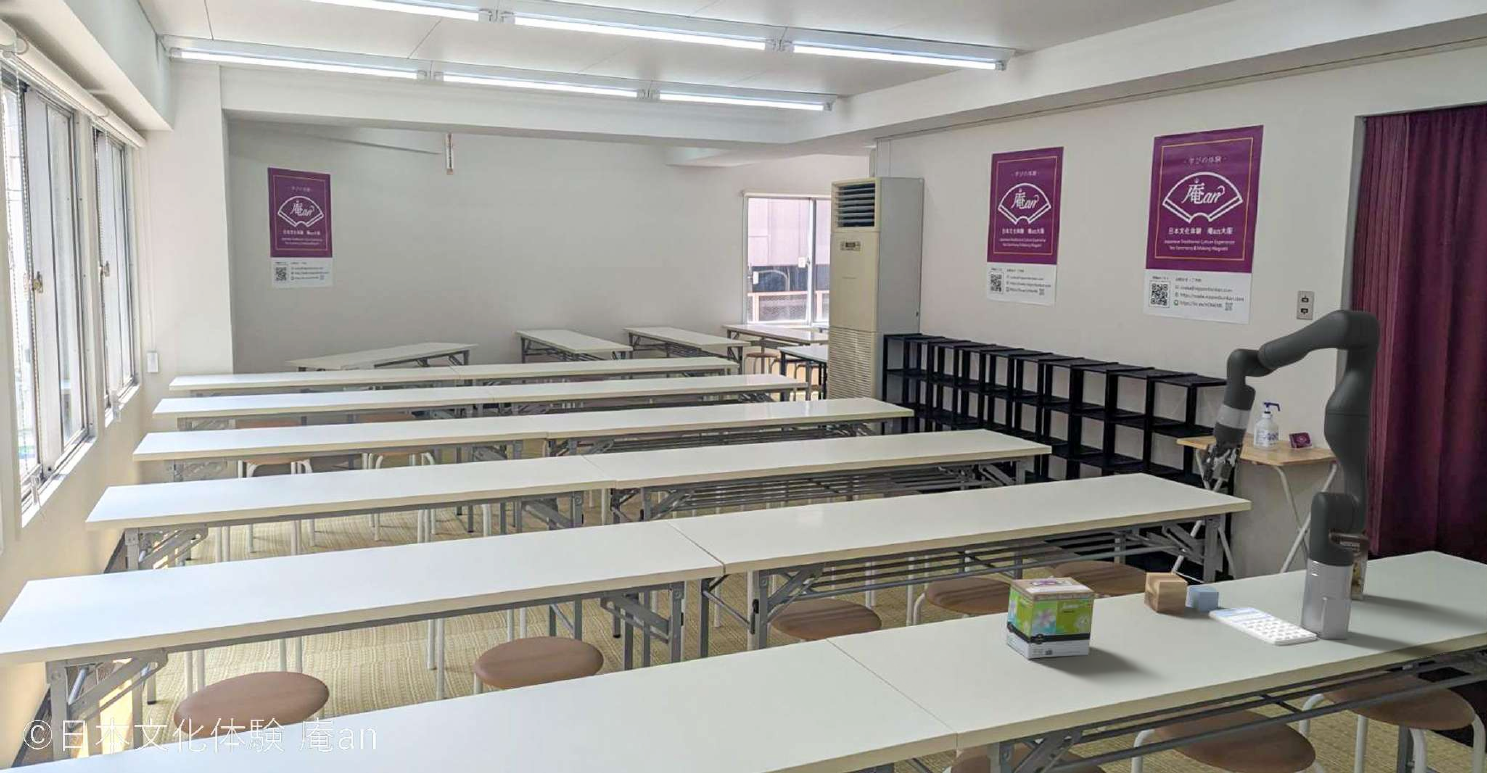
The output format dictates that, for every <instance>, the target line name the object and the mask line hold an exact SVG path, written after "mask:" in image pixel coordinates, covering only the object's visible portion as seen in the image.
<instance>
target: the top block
mask: <svg viewBox="0 0 1487 773" xmlns="http://www.w3.org/2000/svg"><path fill="white" fill-rule="evenodd" d="M1145 580H1146V581H1145V588H1146V589H1147V590H1149V591H1150V592H1151V593H1153V594H1154V595H1155V596H1157V597H1158V598H1186V599H1187V596H1188V585H1189V584H1188V581H1187V580H1185V579H1184V578H1182V577H1180V576H1179V575H1178V574H1177V573H1175V572H1146V579H1145Z"/></svg>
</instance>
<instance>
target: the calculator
mask: <svg viewBox="0 0 1487 773" xmlns="http://www.w3.org/2000/svg"><path fill="white" fill-rule="evenodd" d="M1208 612H1209V613H1208V616H1209V618H1211V619H1214V620H1216V621H1218V622H1221V623H1223V624H1226V625H1227V626H1230V627H1232V628H1233V629H1236V630H1239V631H1241V632H1243V633H1246V634H1248V635H1249V636H1252V637H1255V638H1256V639H1259V640H1261V641H1264V642H1266V643H1268V644H1270V645H1272V646H1284V645H1293V644H1297V643H1304V642H1312V641H1316V640H1317V637H1318V636H1316V634H1314V633H1312V632H1309V631H1307V630H1305V629H1302V628H1300V626H1297V625H1294V624H1292V623H1289V622H1288V621H1285V620H1283V619H1281V618H1278V617H1276V616H1273V615H1270V614H1268V613H1266V612H1264V611H1261V610H1258V609H1256V608H1253V607H1250V606H1240V607H1232V608H1231V607H1230V608H1225V609H1217V610H1215V611H1208Z"/></svg>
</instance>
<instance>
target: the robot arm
mask: <svg viewBox="0 0 1487 773" xmlns="http://www.w3.org/2000/svg"><path fill="white" fill-rule="evenodd" d="M1380 339H1381V323H1380V321H1379V319H1378V317H1377V316H1376V315H1375V314H1374V313H1372V312H1370V311H1364V310H1353V309H1336V310H1333V311H1331V312H1329V313H1327V314H1325V315H1323V316H1321V317H1320V318H1319V319H1317V320H1315V321H1313V322H1312V323H1309V324H1308V325H1306V326H1305V327H1303V328H1300V329H1299V330H1297V331H1295V332H1293V333H1290V334H1287V335H1284V336H1281V337H1278V338H1276V339H1273V340H1269V341H1267V342H1266V343H1264V344H1262V345H1261V346H1260V347H1259V348H1258V349H1249V348H1236V349H1234V350H1233V351H1232V352H1231V353H1230V354H1229V355H1228V358H1227V360H1226V390H1225V392H1224V397H1223V401H1222V402H1221V406H1220V407H1219V410H1218V413H1217V418H1216V421H1215V424H1214V428H1213V431H1212V437H1213V438H1215V440H1216V441H1215V442H1214V444H1211V443H1208V444H1207V445H1206V448H1205V452H1204V453H1203V454H1204V455H1203V457H1202V461H1201V465H1202V466H1204V467H1205V469H1204V472H1203V476H1202V481H1204V482H1206V483H1212V480H1213V477H1214V474H1215V470H1216V469H1217V466H1218V465H1220V464H1222V462H1223V464H1222V465H1221V466H1222V467H1221V471H1220V473H1219V477H1220V478H1221V479H1224V480H1229V478H1230V475H1231V473H1232V470H1233V467H1234V466H1235V464H1236V465H1237V464H1239V461H1240V459H1241V454H1242V451H1243V448H1244V447H1243V446H1244V439H1245V436H1246V433H1247V430H1248V425H1249V423H1250V418H1251V412H1252V408H1253V406H1254V401H1255V398H1256V394H1257V391H1256V389H1255V388H1254V387H1253V386H1251V385H1248V384H1246V383H1247V382H1246V381H1247V380H1246V378H1247V377H1250V378H1251V377H1252V378H1262V377H1263V378H1264V377H1266V376H1269V375H1271V374H1272V373H1273V372H1275V371H1277V370H1278V369H1280V368H1284V367H1287V366H1290V365H1293V364H1295V363H1298V362H1299V361H1301V360H1303V359H1304V358H1305V357H1306V356H1307V355H1308V354H1309V353H1311V352H1314V351H1318V350H1324V349H1336V350H1343V351H1346V362H1345V368H1344V372H1343V375H1342V378H1341V379H1340V381H1339V383H1338V384H1337V385H1336V387H1335V388H1334V390H1333V391H1332V393H1331V395H1330V396H1329V398H1328V400H1327V401H1326V405H1325V410H1324V421H1323V436H1324V438H1325V441H1326V444H1327V445H1328V446H1329V448H1330V450H1331V451H1332V453H1333V455H1334V456H1335V457H1336V459H1337V461H1338V463H1339V464H1340V467H1341V468H1342V470H1343V473H1344V475H1345V479H1346V480H1345V481H1346V485H1347V486H1346V488H1347V493H1346V492H1345V493H1344V492H1332V491H1318V492H1316V493H1315V494H1314V495H1313V497H1312V500H1311V505H1310V518H1309V519H1310V520H1309V537H1308V555H1307V561H1306V572H1305V580H1304V587H1303V588H1304V590H1303V598H1302V608H1301V615H1300V616H1301V618H1300V626H1299V627H1300V628H1302V629H1305V630H1307V631H1309V632H1312V633H1314V634H1316V636H1317V637H1318V638H1320V639H1323V640H1324V639H1327V640H1329V639H1331V640H1333V639H1334V640H1335V639H1337V640H1339V639H1341V640H1344V639H1345V640H1346V639H1348V633H1349V627H1350V626H1349V624H1350V618H1351V616H1350V615H1351V610H1352V609H1351V607H1352V599H1350V598H1349V597H1350V589H1351V580H1352V572H1353V564H1354V553H1353V552H1352V551H1351V550H1350V549H1348V548H1346V547H1344V546H1341V545H1338V544H1336V543H1334V542H1333V541H1331V540H1330V537H1329V533H1330V532H1333V533H1345V534H1363V532H1364V531H1365V529H1366V526H1367V523H1368V517H1369V516H1368V513H1369V512H1368V511H1369V509H1368V508H1369V507H1368V506H1369V505H1368V504H1369V501H1368V494H1369V493H1368V459H1369V458H1368V456H1369V443H1370V437H1371V436H1370V434H1371V420H1372V401H1373V400H1372V398H1373V397H1372V396H1373V386H1374V379H1375V378H1374V377H1375V368H1376V365H1377V363H1376V362H1377V358H1378V352H1379V346H1380V341H1381V340H1380Z"/></svg>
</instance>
